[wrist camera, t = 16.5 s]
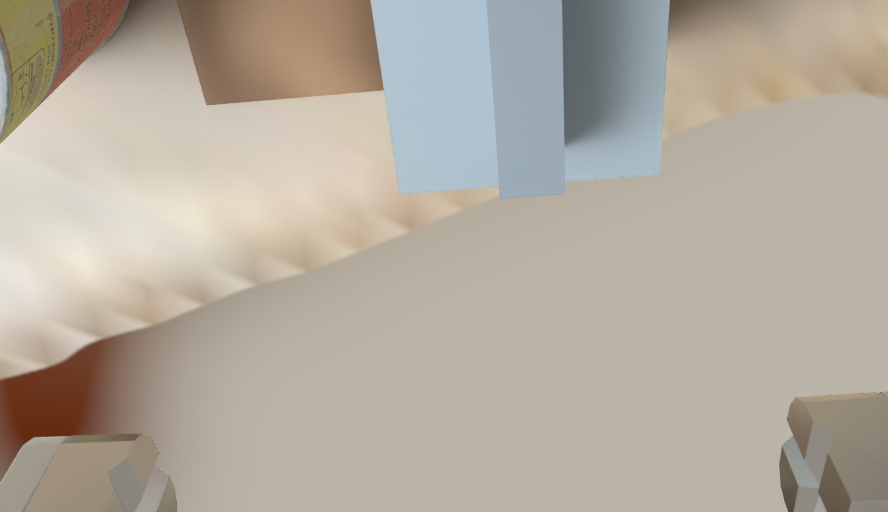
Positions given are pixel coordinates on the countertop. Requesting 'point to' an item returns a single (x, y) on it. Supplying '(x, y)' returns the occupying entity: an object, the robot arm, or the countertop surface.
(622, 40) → the cover
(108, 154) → the countertop surface
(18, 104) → the canned food
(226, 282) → the countertop surface
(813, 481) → the robot arm
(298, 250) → the countertop surface
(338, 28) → the peg board
